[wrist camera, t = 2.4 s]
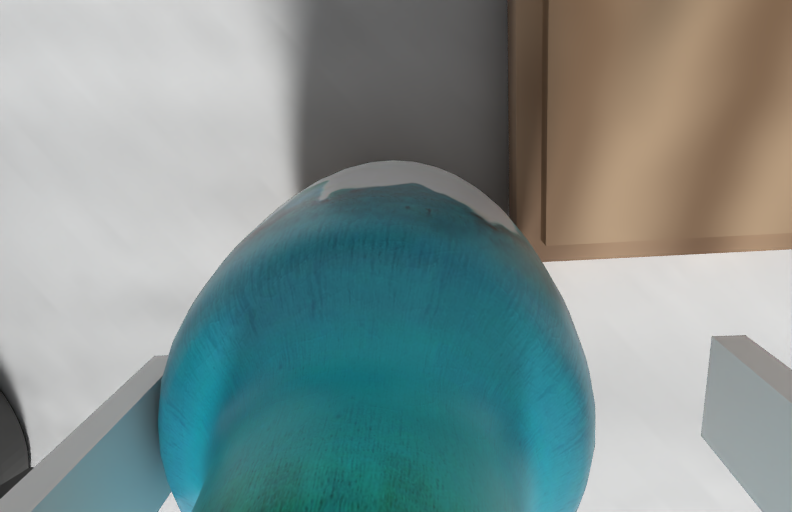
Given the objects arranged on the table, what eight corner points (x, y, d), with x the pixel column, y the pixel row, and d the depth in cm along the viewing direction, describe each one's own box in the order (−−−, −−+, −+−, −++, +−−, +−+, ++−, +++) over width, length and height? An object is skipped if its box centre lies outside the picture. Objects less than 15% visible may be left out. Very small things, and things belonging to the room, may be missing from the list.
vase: (254, 188, 24) (-254, 462, 6) (474, 112, 23) (686, 166, 5) (335, 381, 27) (154, 974, 9) (536, 324, 26) (824, 892, 7)
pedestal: (509, 250, 25) (520, 270, 22) (506, -150, 20) (520, -192, 17) (869, 231, 24) (931, 249, 21) (951, -196, 19) (1045, -249, 16)
